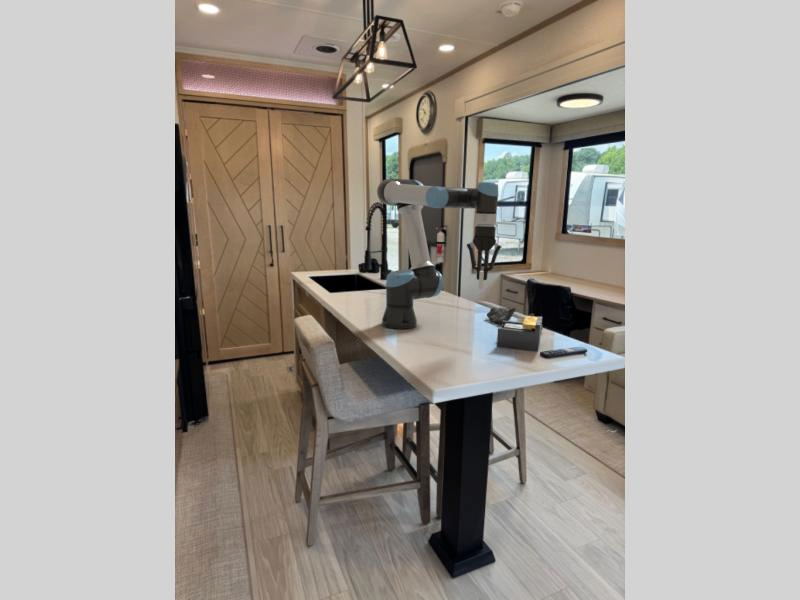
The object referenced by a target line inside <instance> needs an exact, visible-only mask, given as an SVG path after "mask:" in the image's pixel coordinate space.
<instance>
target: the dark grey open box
mask: <svg viewBox="0 0 800 600" xmlns="http://www.w3.org/2000/svg"><path fill="white" fill-rule="evenodd" d="M523 320H524V322H516V321H513V320H506V321H504V320H503V321H502V324H501V327H498V328H497V337H496V347H497V348H501V349H511V350H519V351H525V352H528V351H529V352H535V353H538V352H539V348H540V345H541V344H540V343H541V338H542V337H541V336H542V335H541V333H542V331H541V325H542V326H543V324H542V323H543V316H535V317H532V316H529V315H525V318H523ZM506 323H509V324H519V325H523V326H522V327H525V328H533V331H525V330H516V329H507V328H504V326H505V324H506Z"/></svg>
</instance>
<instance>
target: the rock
mask: <svg viewBox="0 0 800 600" xmlns="http://www.w3.org/2000/svg"><path fill="white" fill-rule="evenodd" d="M515 312H516V307H511V306H508V307H492V308H490V310H489V311H488V312H487V313H486V317H487V318H488V319H489V320H490V321H492V322H494V323H496V324H498V325H501V326H502V321H503V320H504V321H511V319H512V317H513V315H514V314H515Z"/></svg>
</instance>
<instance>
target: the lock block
mask: <svg viewBox="0 0 800 600" xmlns="http://www.w3.org/2000/svg"><path fill="white" fill-rule="evenodd" d="M522 326H523V325H519V324H509V323H506V324H505V326H504V328H507V329H516V330H525V331H533V328H525V327H522Z"/></svg>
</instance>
